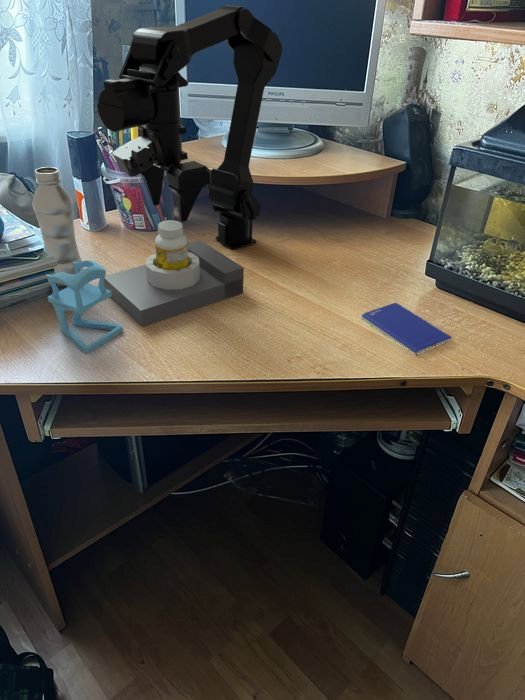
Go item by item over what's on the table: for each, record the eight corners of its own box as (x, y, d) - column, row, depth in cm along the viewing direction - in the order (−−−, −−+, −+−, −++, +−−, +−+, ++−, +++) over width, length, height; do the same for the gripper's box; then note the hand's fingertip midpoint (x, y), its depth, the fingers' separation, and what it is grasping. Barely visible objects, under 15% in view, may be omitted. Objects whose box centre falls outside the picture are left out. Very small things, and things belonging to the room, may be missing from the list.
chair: (85, 315, 90) (73, 247, 83) (124, 330, 86) (114, 261, 79) (48, 337, 84) (32, 266, 77) (88, 354, 81) (74, 281, 74)
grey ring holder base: (200, 263, 107) (200, 235, 103) (243, 292, 98) (243, 262, 94) (104, 291, 96) (100, 260, 93) (142, 326, 87) (138, 293, 84)
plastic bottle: (74, 270, 102) (55, 161, 91) (93, 283, 99) (75, 171, 87) (41, 280, 99) (17, 168, 87) (59, 294, 95) (37, 179, 83)
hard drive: (361, 313, 91) (416, 350, 83) (396, 301, 95) (452, 335, 87) (360, 321, 92) (414, 358, 84) (395, 309, 96) (450, 343, 88)
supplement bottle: (191, 282, 94) (189, 231, 88) (160, 285, 93) (156, 233, 87) (185, 266, 98) (183, 216, 92) (155, 269, 97) (151, 219, 91)
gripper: (89, 114, 89) (103, 206, 98) (147, 140, 78) (156, 242, 87) (149, 106, 95) (157, 194, 104) (211, 129, 83) (214, 225, 93)
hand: (169, 212), depth 97 cm, fingers open, 9 cm apart
